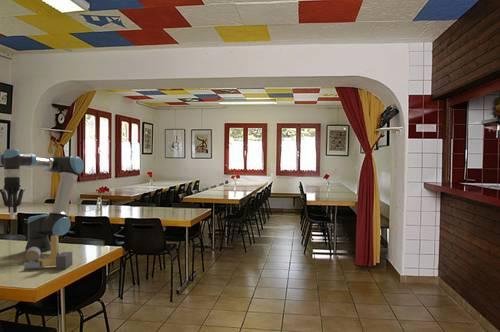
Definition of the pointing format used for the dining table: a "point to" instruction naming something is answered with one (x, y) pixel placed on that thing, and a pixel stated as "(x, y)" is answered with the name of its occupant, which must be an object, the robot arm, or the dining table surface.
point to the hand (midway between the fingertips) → (12, 218)
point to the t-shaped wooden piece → (54, 252)
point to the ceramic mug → (33, 253)
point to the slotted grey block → (63, 260)
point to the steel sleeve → (33, 265)
